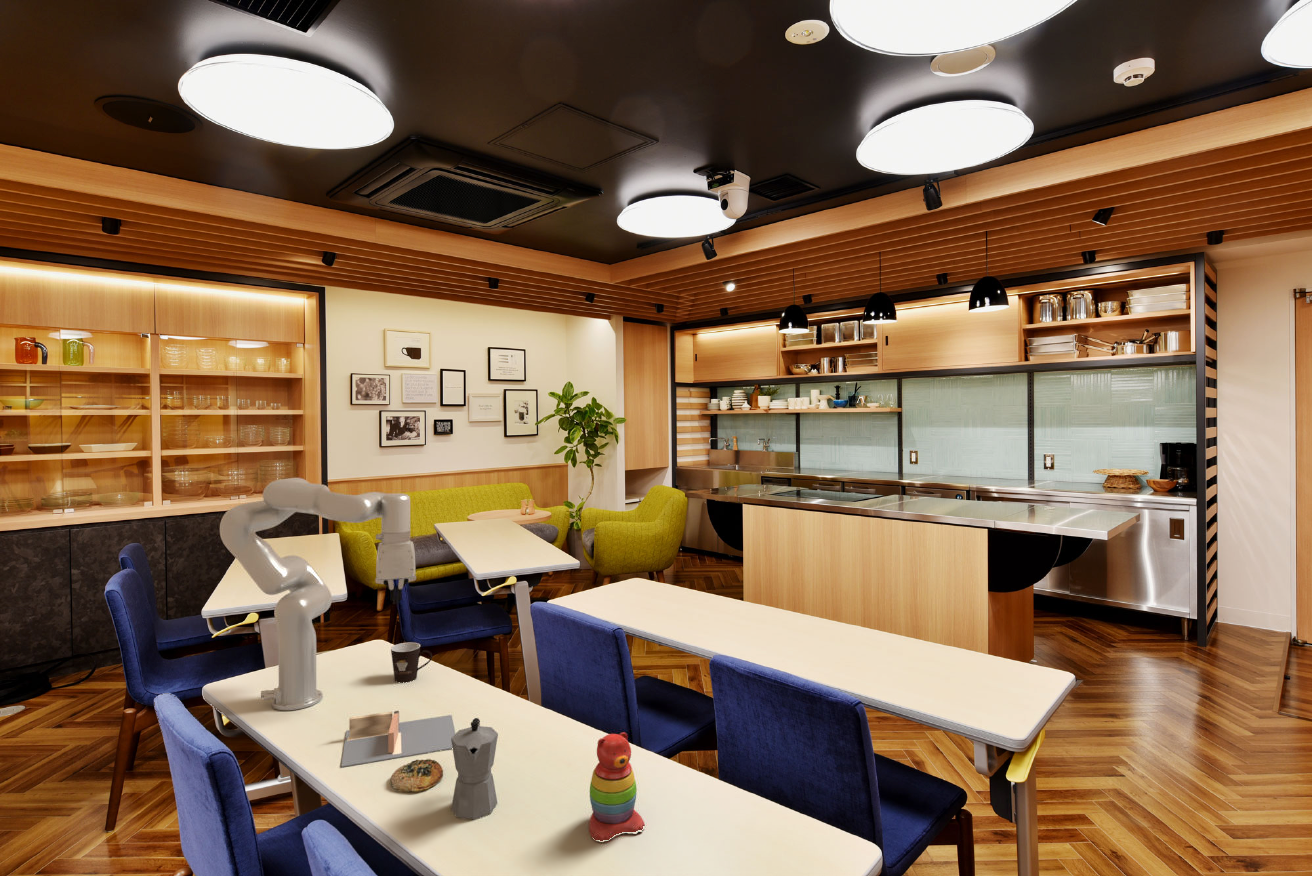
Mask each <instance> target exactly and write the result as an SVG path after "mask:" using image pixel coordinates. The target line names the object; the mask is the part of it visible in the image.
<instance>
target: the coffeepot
mask: <svg viewBox="0 0 1312 876" xmlns="http://www.w3.org/2000/svg"><path fill="white" fill-rule="evenodd" d="M480 724H481V723H480V718H478V717H475V718H473V719H472V721H471V722H470V727H466V728H462V729H458V731H456V732H455V735H454V736H453V737H452V738H451V741H452V748H453V749H452V753H453V760H454V765H455V766H454V767H455V770H456V772H457V777H456V780H455V784H454V789H453V791H454V792H453V795H452V802H451V810H452V813H453V815H454V816H455V815H456V816H455V817H456V818H459V819H461V820H468V819H470V820H478V819H481V818H484V817H486V816H488V815H489V813H490V814H491V813H492V812H493V811H494V810H495V809H494V808H496V806H497V805H498V797H497V793H496V787H495V781H494V776H493V773H492V767H493V766H494V763H495V757H496V749H497V742H498V735H499V733H498V732H497V731H496V730H495V729H494V728H493V727H492V726H482V725H480ZM493 809H494V810H493ZM487 814H488V815H487ZM485 815H486V816H485ZM483 816H484V817H483ZM480 817H481V818H480ZM477 818H478V819H477Z"/></svg>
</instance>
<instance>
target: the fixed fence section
mask: <svg viewBox="0 0 1312 876" xmlns="http://www.w3.org/2000/svg"><path fill="white" fill-rule="evenodd" d="M396 713H399V714H400V711H399V710H395V711H394V712H393V711H387V712H385V711H384V712H379V713H378V712H377V713H372V714H365V715H359V716H351V717H349V720H348V721H349V725H348V726H349V728H348V729H349V740H350V739H357V738H363V737H370V736H376V735H383V734H388V733H389V729H390V725H391V722H392V718H393V714H396Z"/></svg>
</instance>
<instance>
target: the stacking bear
mask: <svg viewBox="0 0 1312 876" xmlns="http://www.w3.org/2000/svg"><path fill="white" fill-rule="evenodd" d="M628 737H629V736H628V734H627V733H626V732H620V733H619V734H617V733H609V734H606V735H605V736H603V737H602V738H599V739H598V741H597V745H596V746H597V747H596V757H597V759H598V763H597V765H596V766H595V767H594V769H593V771H592V774H591V775H592V776H591V781H590V785H589V799H590V800H589V801H590V805H591V810H592V813H591V815H590V818H589V822H588V826H589V827H588V829H589V830H588V831H589V834H590V837H591V838H592V837H593V838H594V839H595V840H600V841H603V840H609V839H610V838H612V837H613V836H614V835H616V834H619V833H622V832H636V831H638V830H642V829H643V826H646V824H645V821H644V819H643V818H642V816H641V814H639V812H637V811H636V810H635V805H636V804H635V803H636V800H637V791H638V790H637V782H636V778H635V773H634V771H633V767H632V764H631V763H630V759H631V758H632V757H631V756H632V747H631V745H630V742H629V741H628ZM593 838H592V839H593ZM594 839H593V840H594ZM595 840H594V841H595Z"/></svg>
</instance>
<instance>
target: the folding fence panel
mask: <svg viewBox="0 0 1312 876" xmlns="http://www.w3.org/2000/svg"><path fill="white" fill-rule="evenodd" d="M399 723H400V712H399V713H396V714H394V713H392V722H391V725H390V729H389V733H388V753H393V752H394V749H395V745H396V741H397V737H398V732H399Z"/></svg>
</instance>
